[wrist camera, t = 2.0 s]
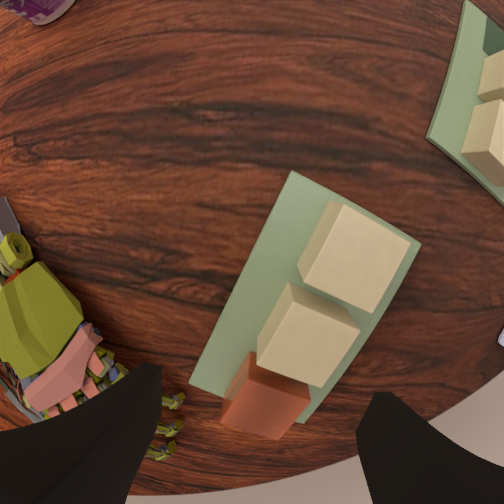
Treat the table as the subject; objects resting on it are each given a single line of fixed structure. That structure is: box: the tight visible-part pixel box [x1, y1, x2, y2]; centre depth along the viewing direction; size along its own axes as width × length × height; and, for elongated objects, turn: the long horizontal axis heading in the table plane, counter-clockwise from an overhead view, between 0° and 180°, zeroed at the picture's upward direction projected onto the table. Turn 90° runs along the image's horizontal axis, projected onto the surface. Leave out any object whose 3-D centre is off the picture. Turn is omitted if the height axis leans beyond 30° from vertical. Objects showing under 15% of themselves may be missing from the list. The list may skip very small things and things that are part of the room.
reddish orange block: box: [220, 351, 311, 440], centre depth 17 cm, size 4×4×3 cm
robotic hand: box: [0, 197, 186, 460], centre depth 17 cm, size 12×7×25 cm
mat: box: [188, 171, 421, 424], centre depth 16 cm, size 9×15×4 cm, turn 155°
